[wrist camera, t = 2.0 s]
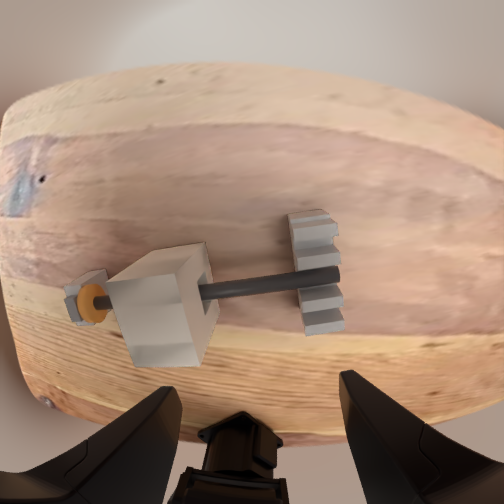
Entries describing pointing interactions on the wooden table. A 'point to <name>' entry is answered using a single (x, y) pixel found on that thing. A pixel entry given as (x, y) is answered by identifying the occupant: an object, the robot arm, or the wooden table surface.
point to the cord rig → (252, 280)
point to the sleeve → (165, 307)
